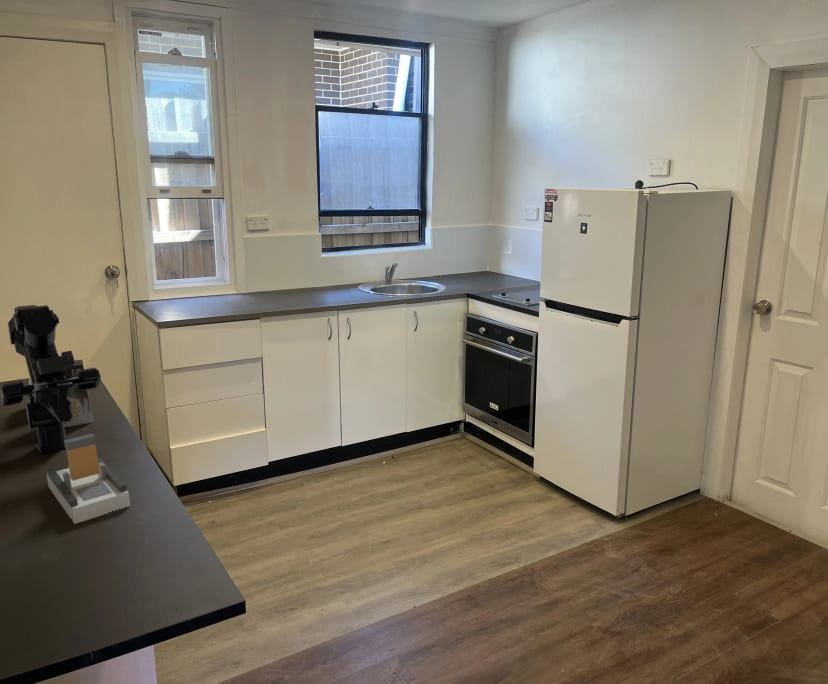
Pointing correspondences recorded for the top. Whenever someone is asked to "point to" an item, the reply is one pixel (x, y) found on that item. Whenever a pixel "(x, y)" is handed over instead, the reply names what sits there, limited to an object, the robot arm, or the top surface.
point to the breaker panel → (89, 492)
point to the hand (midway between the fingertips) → (62, 421)
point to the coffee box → (78, 399)
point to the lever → (82, 456)
